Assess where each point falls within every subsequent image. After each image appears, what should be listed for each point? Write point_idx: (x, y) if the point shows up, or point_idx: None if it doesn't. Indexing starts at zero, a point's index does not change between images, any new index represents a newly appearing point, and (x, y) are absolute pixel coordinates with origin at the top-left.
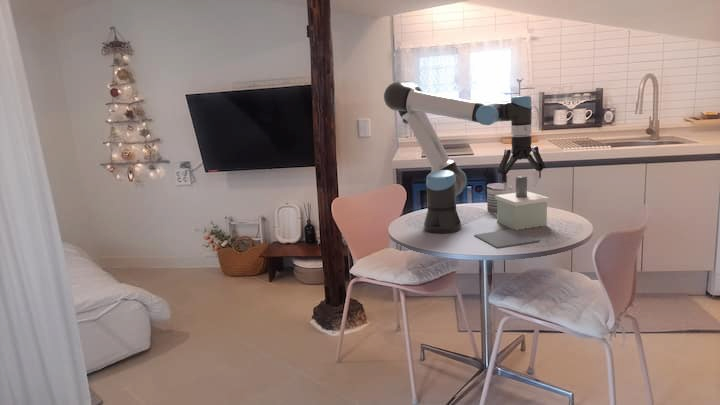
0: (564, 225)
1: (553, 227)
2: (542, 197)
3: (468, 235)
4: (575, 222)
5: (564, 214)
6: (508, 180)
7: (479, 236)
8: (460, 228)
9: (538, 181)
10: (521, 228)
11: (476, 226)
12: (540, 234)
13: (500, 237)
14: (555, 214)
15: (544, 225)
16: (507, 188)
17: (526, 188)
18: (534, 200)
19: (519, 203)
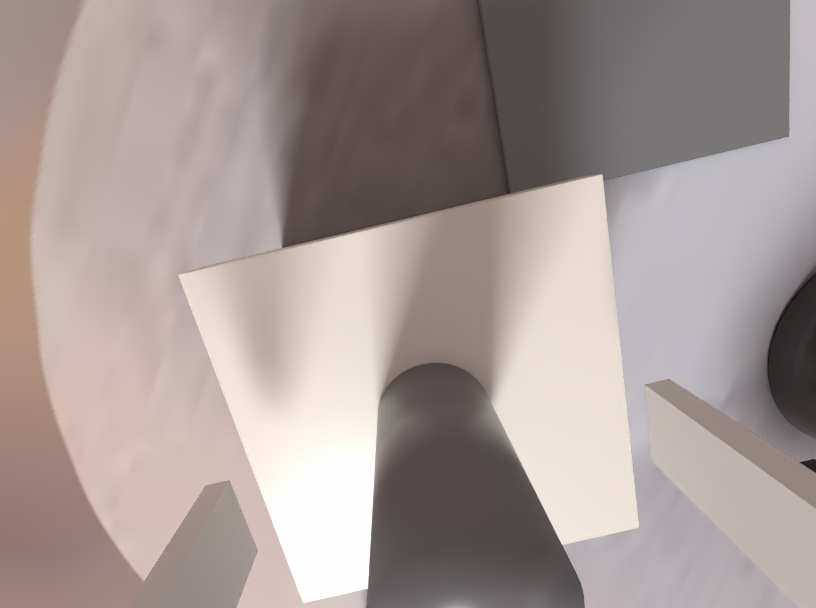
0: (171, 223)
1: (253, 196)
2: (244, 305)
3: (806, 159)
4: (83, 272)
5: (101, 459)
6: (782, 473)
7: (779, 83)
8: (796, 300)
9: (178, 543)
10: (460, 205)
11: (680, 338)
12: (387, 54)
13: (670, 20)
14: (154, 471)
15: (296, 244)
16: (690, 395)
17: (397, 426)
18: (360, 230)
19: (539, 187)
